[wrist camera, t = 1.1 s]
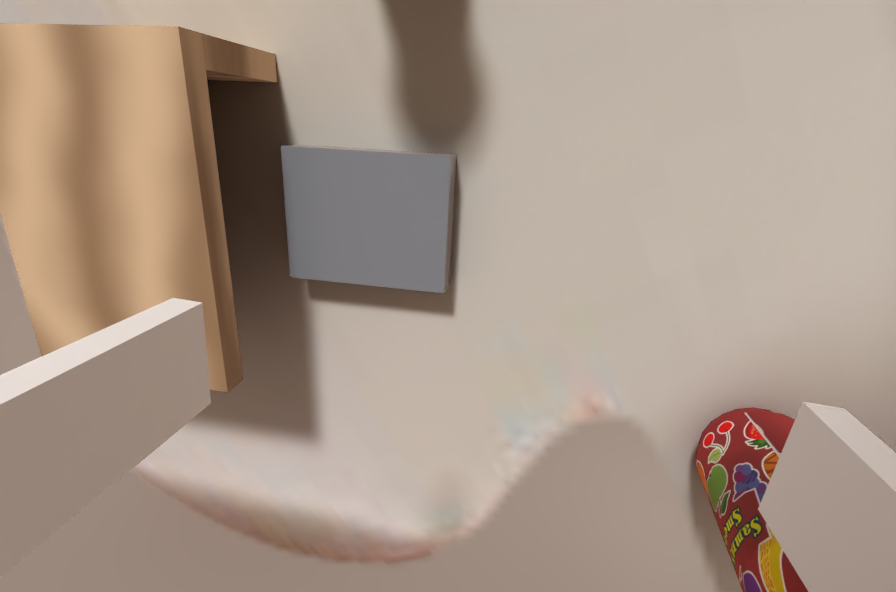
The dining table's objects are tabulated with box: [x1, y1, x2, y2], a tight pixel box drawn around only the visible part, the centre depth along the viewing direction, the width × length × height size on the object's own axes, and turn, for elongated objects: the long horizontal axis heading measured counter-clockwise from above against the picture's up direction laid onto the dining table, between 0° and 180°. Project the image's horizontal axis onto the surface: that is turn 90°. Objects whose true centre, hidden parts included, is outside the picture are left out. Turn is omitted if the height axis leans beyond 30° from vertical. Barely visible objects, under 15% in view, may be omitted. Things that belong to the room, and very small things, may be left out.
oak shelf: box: [0, 23, 277, 392], centre depth 28 cm, size 12×18×8 cm, turn 177°
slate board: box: [281, 145, 456, 293], centre depth 29 cm, size 10×8×2 cm
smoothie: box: [696, 408, 808, 592], centre depth 21 cm, size 8×8×20 cm
